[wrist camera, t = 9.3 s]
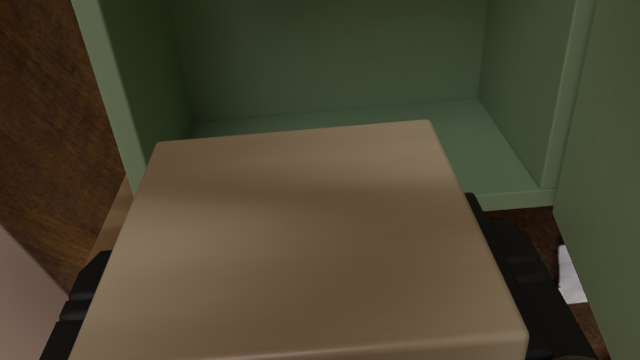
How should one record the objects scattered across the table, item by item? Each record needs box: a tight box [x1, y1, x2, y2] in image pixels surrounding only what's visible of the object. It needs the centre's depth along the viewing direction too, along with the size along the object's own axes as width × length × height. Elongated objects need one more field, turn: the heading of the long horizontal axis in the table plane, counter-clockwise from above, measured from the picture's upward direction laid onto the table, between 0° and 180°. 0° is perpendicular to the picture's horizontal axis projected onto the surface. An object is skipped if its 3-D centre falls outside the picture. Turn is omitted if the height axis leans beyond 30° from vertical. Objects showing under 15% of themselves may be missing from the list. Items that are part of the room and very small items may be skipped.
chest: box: [71, 0, 597, 211], centre depth 21 cm, size 16×13×9 cm
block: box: [68, 119, 529, 360], centre depth 8 cm, size 5×5×5 cm
